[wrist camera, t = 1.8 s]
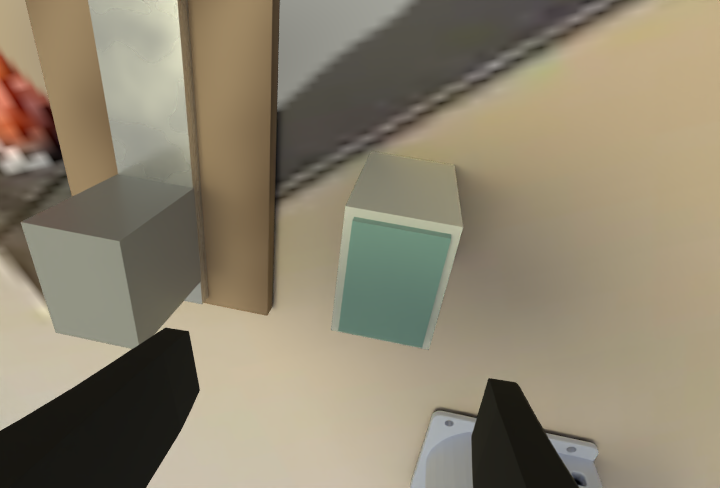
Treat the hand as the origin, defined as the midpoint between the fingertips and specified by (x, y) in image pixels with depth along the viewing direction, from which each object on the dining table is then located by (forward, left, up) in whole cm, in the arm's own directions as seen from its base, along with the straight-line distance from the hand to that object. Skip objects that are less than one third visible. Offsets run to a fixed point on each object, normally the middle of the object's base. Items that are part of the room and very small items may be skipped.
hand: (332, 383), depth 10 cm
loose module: (-1, 0, -10) cm, 11 cm away
